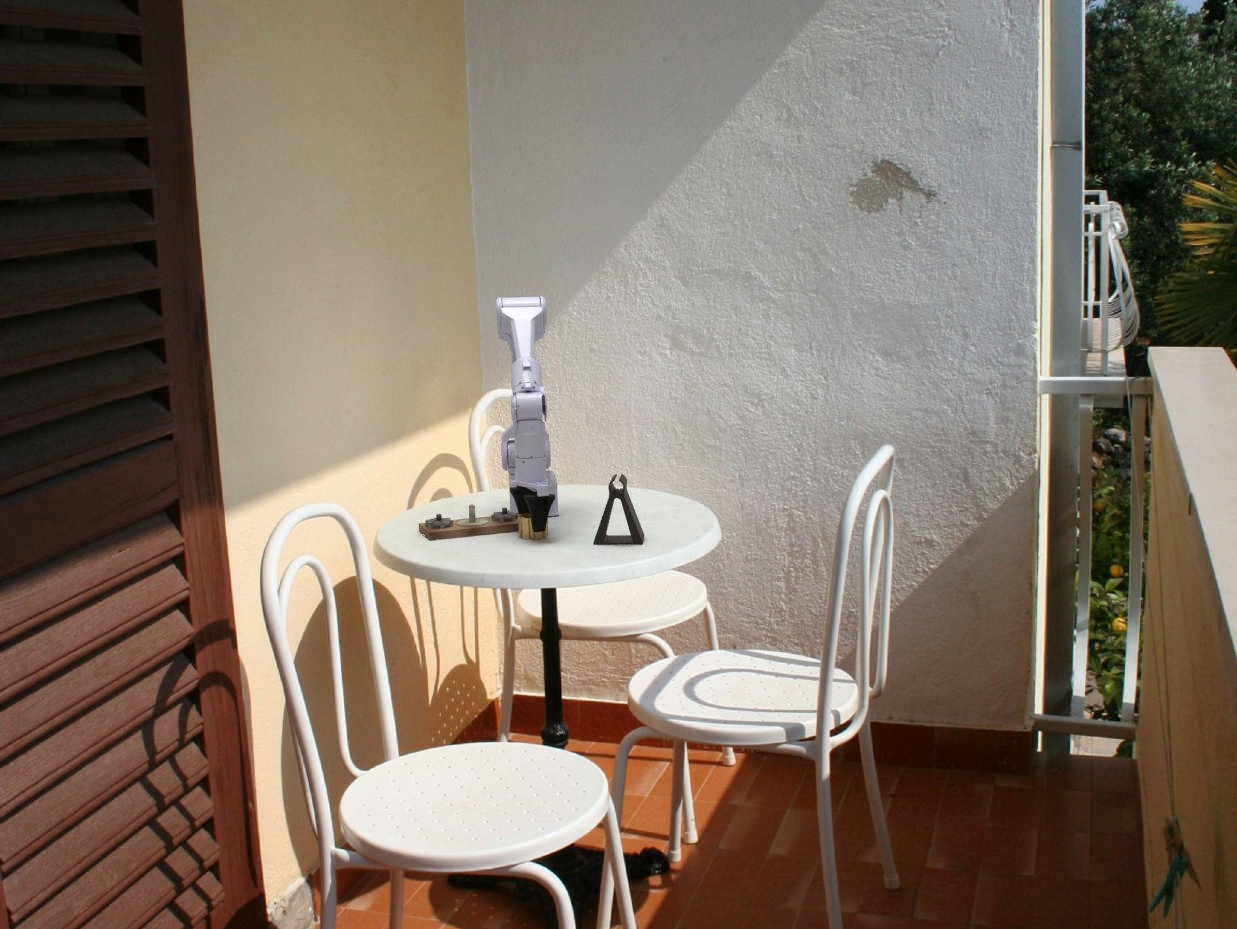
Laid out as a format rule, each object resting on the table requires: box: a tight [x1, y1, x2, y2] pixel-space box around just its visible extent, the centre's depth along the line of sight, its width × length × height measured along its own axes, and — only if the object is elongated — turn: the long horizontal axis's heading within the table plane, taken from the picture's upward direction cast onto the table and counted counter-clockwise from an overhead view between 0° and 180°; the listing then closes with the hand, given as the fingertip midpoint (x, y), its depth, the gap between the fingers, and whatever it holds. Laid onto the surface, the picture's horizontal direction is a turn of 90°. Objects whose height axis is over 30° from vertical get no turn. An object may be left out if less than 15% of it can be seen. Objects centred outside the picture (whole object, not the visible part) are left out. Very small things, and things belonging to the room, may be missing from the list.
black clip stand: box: [593, 473, 645, 546], centre depth 225 cm, size 9×6×12 cm, turn 85°
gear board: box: [418, 503, 518, 541], centre depth 236 cm, size 19×9×5 cm, turn 112°
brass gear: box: [517, 512, 549, 540], centre depth 231 cm, size 6×6×4 cm
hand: (533, 527), depth 231 cm, fingers open, 7 cm apart
